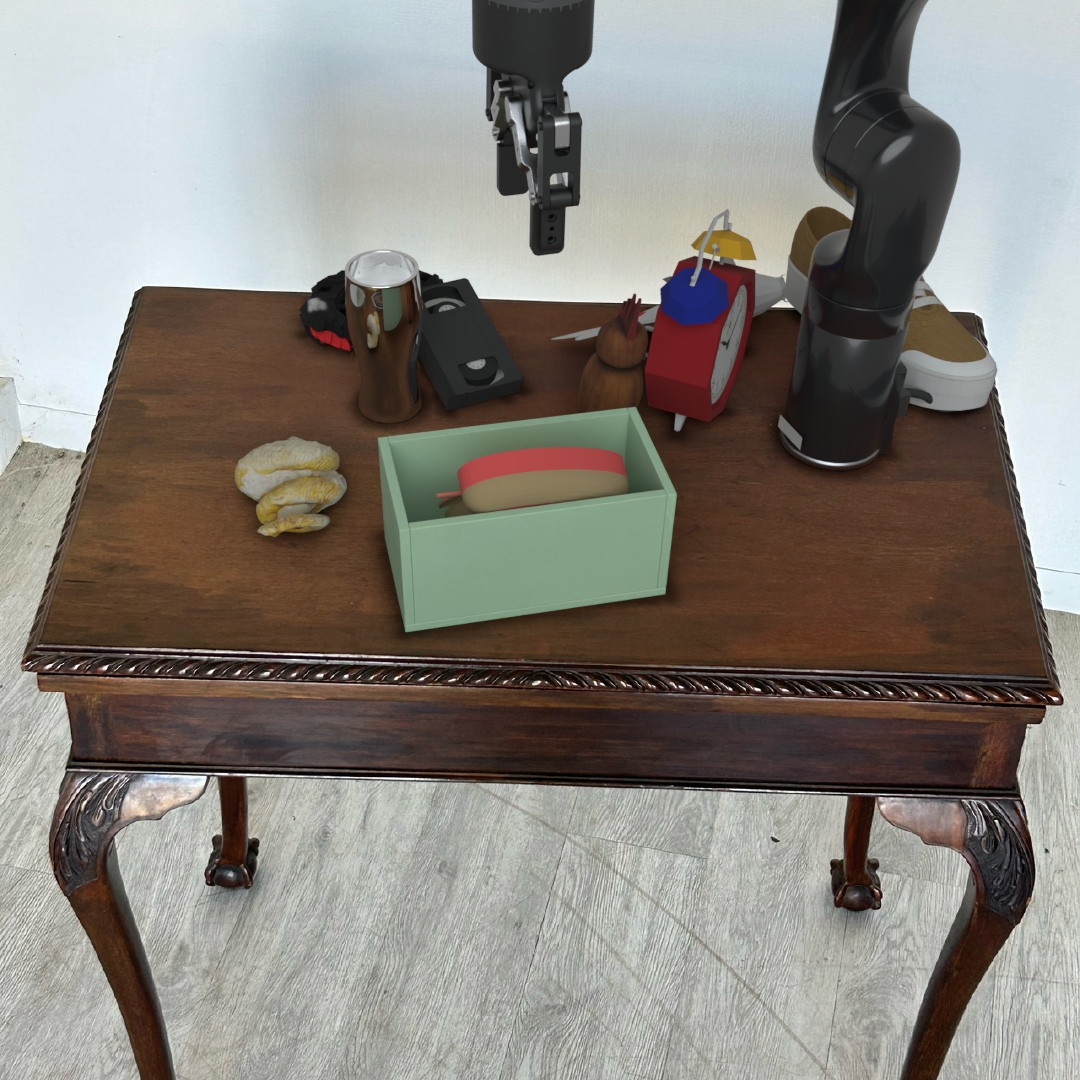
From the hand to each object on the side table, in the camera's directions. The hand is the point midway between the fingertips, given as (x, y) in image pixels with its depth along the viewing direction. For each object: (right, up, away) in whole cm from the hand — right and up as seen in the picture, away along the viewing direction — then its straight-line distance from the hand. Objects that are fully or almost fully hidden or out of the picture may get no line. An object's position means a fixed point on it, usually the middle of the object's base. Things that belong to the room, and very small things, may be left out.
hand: (529, 221), depth 94 cm
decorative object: (+8, -18, +18) cm, 26 cm away
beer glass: (-14, -9, +38) cm, 41 cm away
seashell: (-21, -19, +27) cm, 39 cm away
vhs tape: (-8, -3, +42) cm, 43 cm away
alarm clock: (+15, -8, +39) cm, 43 cm away
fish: (+17, +1, +42) cm, 45 cm away
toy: (-16, +1, +50) cm, 52 cm away
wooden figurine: (+7, -11, +36) cm, 38 cm away
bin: (-1, -24, +21) cm, 32 cm away
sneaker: (+35, -2, +47) cm, 59 cm away
